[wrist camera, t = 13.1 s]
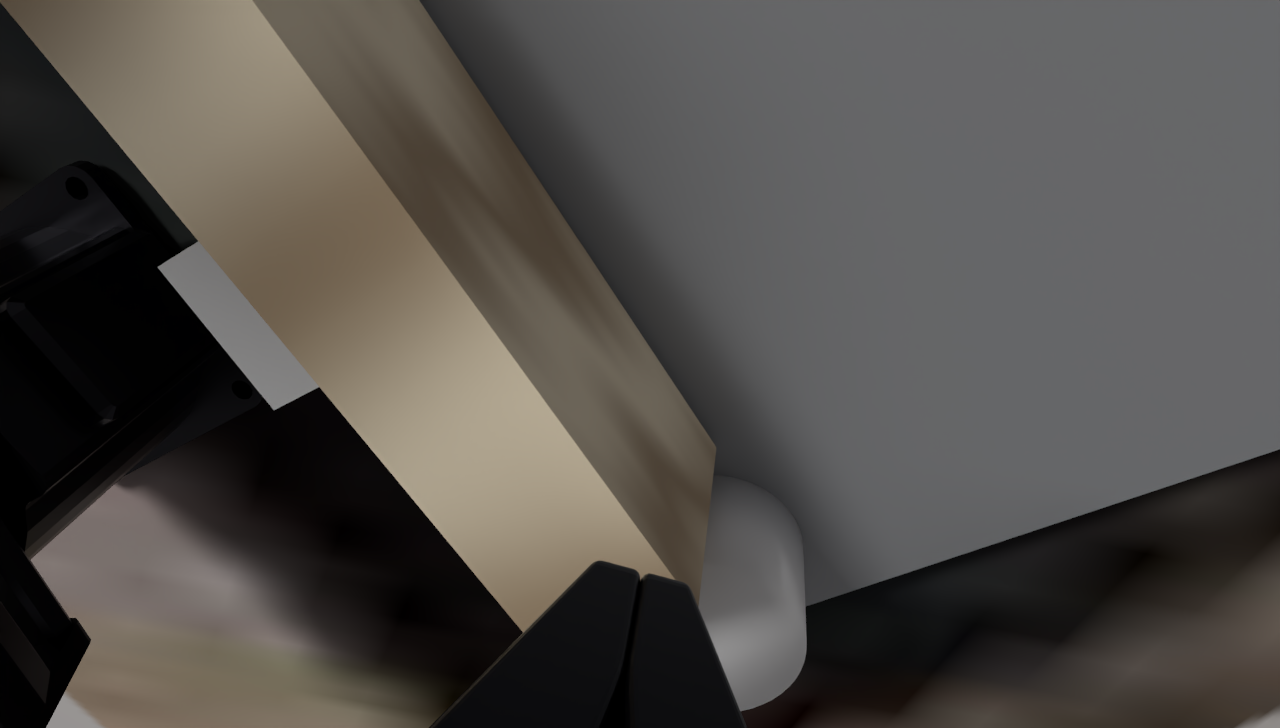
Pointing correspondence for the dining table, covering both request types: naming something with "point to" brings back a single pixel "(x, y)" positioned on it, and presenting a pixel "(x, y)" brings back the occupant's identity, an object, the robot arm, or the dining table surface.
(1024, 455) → the dark grey flat piece
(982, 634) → the dining table surface
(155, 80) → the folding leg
